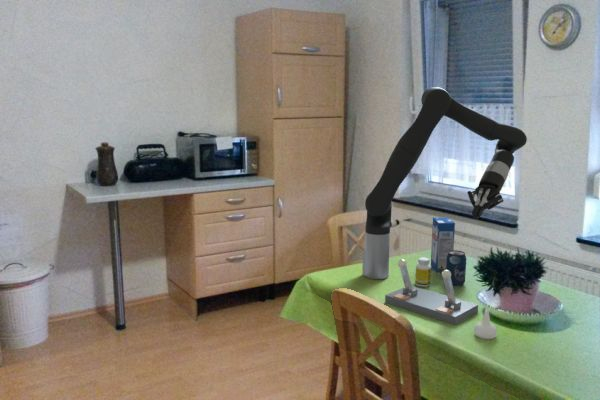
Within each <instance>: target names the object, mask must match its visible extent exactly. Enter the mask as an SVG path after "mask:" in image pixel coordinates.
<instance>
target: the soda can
mask: <svg viewBox="0 0 600 400" xmlns="http://www.w3.org/2000/svg"><path fill="white" fill-rule="evenodd" d="M446 270H449V271H450V272H451V281H452V286H453V287H463V285H464V284H465V282H466V274H467V273H466V270H467V256H466V252H465V251H462V250H456V249H455V250H453V251H449V253H448V255H447V260H446Z"/></svg>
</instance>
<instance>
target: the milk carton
mask: <svg viewBox="0 0 600 400" xmlns="http://www.w3.org/2000/svg"><path fill="white" fill-rule="evenodd" d="M455 225H456V223H455V222H454V221H453V219H451V218H449V217H432V228H431V229H432V230H431V231H432V232H431V251H430V254H431V255H430V266H431V269H433V271H434V272H435V273H436V274H442V272H443V271H444V270H446V260H447V255H448V253H449V251H453V250H454V249H455V248H454V247H455V246H454V245H455V227H456V226H455Z"/></svg>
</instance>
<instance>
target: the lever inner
mask: <svg viewBox="0 0 600 400" xmlns="http://www.w3.org/2000/svg"><path fill="white" fill-rule="evenodd" d="M397 265H398V267H399V271H400V274H401V278H402V281H403V284H404V287H405V289H406V292H408V293H411V290H413V288H412V286H413V284H412V282H411V277H410V274H409V271H408V267H407V261H406V260H405V259H400V260H398V261H397Z"/></svg>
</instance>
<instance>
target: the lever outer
mask: <svg viewBox="0 0 600 400" xmlns="http://www.w3.org/2000/svg"><path fill="white" fill-rule="evenodd" d="M441 277H442V279H443V284H444V287H445V292H446V296H447V298H448V302H449V305H452V306H454V303H455V302H456V300H455V298H456V295H455V291H454V286H452V281H451V272H450V271H449V270H444V271H443V272H442V273H441Z"/></svg>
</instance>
